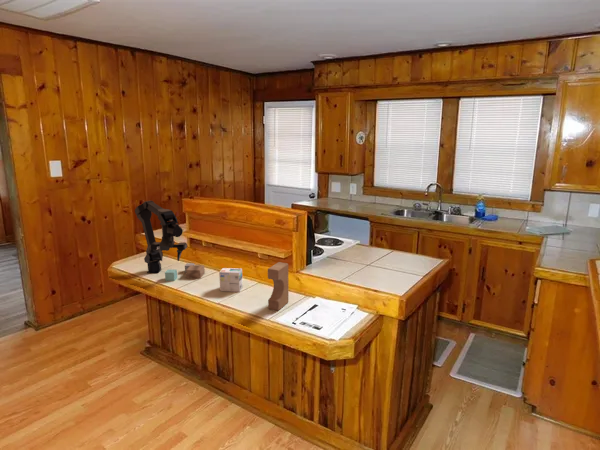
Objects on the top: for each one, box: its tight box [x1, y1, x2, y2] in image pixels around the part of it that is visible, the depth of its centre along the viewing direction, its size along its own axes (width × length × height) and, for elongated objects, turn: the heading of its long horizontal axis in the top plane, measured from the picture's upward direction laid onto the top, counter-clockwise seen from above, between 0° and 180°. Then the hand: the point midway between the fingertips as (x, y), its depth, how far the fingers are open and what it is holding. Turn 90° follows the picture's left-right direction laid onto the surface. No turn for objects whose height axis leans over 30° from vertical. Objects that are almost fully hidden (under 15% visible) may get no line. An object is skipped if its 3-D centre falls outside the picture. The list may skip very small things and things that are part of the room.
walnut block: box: [185, 264, 206, 279], centre depth 229 cm, size 8×8×5 cm
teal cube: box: [164, 268, 178, 282], centre depth 223 cm, size 5×5×5 cm
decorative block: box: [267, 261, 289, 312], centre depth 189 cm, size 11×6×20 cm, turn 154°
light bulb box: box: [219, 267, 244, 293], centre depth 209 cm, size 11×7×11 cm, turn 84°
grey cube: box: [184, 262, 195, 274], centre depth 235 cm, size 4×4×4 cm
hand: (170, 260), depth 221 cm, fingers open, 9 cm apart
